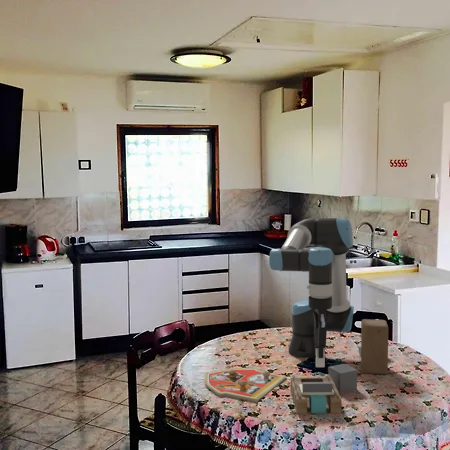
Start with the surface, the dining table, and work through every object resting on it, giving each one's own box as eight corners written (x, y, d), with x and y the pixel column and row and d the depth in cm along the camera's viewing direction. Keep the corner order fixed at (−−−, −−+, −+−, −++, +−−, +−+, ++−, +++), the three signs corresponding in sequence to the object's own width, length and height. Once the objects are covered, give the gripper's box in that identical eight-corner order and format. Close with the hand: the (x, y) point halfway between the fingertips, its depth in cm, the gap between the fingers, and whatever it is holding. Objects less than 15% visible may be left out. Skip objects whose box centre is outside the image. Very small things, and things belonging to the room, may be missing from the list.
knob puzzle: (256, 405, 195) (256, 393, 194) (186, 390, 209) (185, 379, 208) (288, 377, 220) (288, 366, 219) (223, 365, 234) (223, 355, 234)
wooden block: (387, 375, 219) (388, 326, 217) (361, 373, 221) (362, 325, 219) (385, 366, 229) (386, 319, 227) (360, 365, 231) (361, 318, 229)
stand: (328, 387, 208) (328, 366, 208) (344, 383, 211) (344, 363, 211) (340, 394, 202) (340, 373, 201) (356, 390, 205) (357, 369, 204)
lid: (298, 387, 195) (298, 376, 195) (330, 386, 195) (330, 375, 194) (301, 395, 188) (301, 383, 188) (333, 394, 188) (333, 383, 187)
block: (309, 406, 191) (309, 392, 191) (323, 406, 191) (323, 392, 190) (311, 412, 186) (311, 398, 186) (326, 412, 186) (326, 398, 185)
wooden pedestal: (290, 392, 205) (290, 375, 204) (331, 391, 204) (331, 374, 204) (296, 415, 186) (296, 396, 185) (341, 414, 185) (341, 395, 185)
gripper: (305, 291, 185) (305, 359, 188) (311, 300, 172) (311, 373, 175) (328, 291, 185) (328, 359, 187) (335, 300, 172) (335, 373, 175)
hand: (320, 366), depth 181 cm, fingers closed
